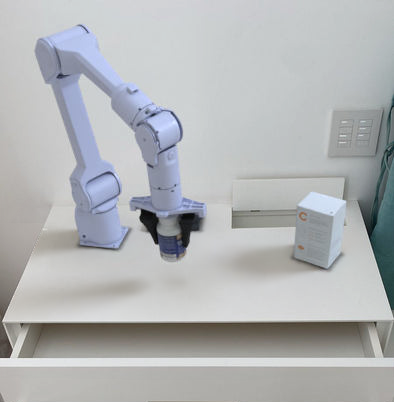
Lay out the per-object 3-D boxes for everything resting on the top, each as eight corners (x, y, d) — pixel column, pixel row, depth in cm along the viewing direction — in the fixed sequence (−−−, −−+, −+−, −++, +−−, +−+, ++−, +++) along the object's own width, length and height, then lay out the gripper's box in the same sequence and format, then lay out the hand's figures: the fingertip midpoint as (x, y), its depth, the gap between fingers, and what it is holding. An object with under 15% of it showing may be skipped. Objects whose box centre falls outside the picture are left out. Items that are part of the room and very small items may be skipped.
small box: (340, 253, 123) (348, 200, 113) (327, 269, 119) (333, 216, 110) (306, 242, 126) (311, 190, 117) (292, 257, 123) (296, 205, 113)
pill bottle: (184, 264, 113) (179, 222, 106) (157, 262, 114) (151, 221, 107) (189, 247, 117) (185, 206, 109) (163, 246, 117) (158, 205, 110)
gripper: (119, 189, 102) (130, 251, 112) (197, 196, 99) (202, 259, 109) (132, 169, 107) (142, 230, 117) (207, 175, 104) (211, 237, 113)
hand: (172, 243), depth 113 cm, fingers closed on pill bottle, 5 cm apart
